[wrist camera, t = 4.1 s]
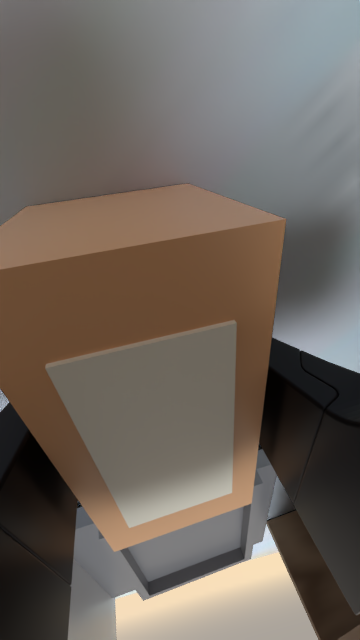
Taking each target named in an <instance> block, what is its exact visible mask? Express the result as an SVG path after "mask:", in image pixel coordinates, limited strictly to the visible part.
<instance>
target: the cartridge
mask: <svg viewBox="0 0 360 640" xmlns="http://www.w3.org/2000/svg"><path fill="white" fill-rule="evenodd" d="M285 225H286V219H285V218H282V217H279V216H276V215H274V214H271V213H268V212H265V211H263V210H260V209H257V208H254V207H252V206H249V205H246V204H243V203H241V202H238V201H235V200H232V199H230V198H227V197H224V196H221V195H219V194H216V193H213V192H210V191H208V190H205V189H202V188H199V187H197V186H194V185H191V184H188V183H186V184H180V185H173V186H166V187H159V188H152V189H145V190H138V191H131V192H124V193H117V194H110V195H103V196H96V197H89V198H82V199H75V200H68V201H61V202H54V203H47V204H40V205H33V206H27V207H25V208H24V209H22V210H21V211H20V212H18V213H17V214H16V215H14V216H13V217H12V218H10V219H9V220H8V221H7V222H5V223H4V224H3V225H1V226H0V389H1V390H2V392H3V393H4V394H5V396H6V397H7V399H8V400H9V402H10V403H11V404H12V406H13V407H14V409H15V410H16V412H17V413H18V415H19V416H20V417H21V419H22V420H23V422H24V423H25V425H26V426H27V427H28V429H29V430H30V432H31V433H32V435H33V436H34V438H35V439H36V440H37V442H38V443H39V445H40V446H41V448H42V449H43V450H44V452H45V453H46V455H47V456H48V458H49V459H50V460H51V462H52V463H53V465H54V466H55V468H56V469H57V471H58V472H59V473H60V475H61V476H62V478H63V479H64V481H65V482H66V483H67V485H68V486H69V488H70V489H71V491H72V492H73V494H74V495H75V496H76V498H77V499H78V501H79V502H80V504H81V505H82V506H83V508H84V509H85V511H86V512H87V514H88V515H89V517H90V518H91V519H92V521H93V522H94V524H95V525H96V527H97V528H98V529H99V531H100V532H101V534H102V535H103V537H104V538H105V539H106V541H107V542H108V544H109V545H110V547H111V548H112V550H113V551H114V552H116V551H119V550H122V549H124V548H127V547H130V546H133V545H136V544H139V543H141V542H144V541H147V540H150V539H153V538H155V537H158V536H161V535H164V534H167V533H170V532H172V531H175V530H178V529H181V528H184V527H187V526H189V525H192V524H195V523H198V522H201V521H203V520H206V519H209V518H212V517H215V516H218V515H220V514H223V513H226V512H229V511H232V510H235V509H237V508H240V507H243V506H246V505H249V504H252V496H253V488H254V480H255V472H256V463H257V455H258V447H259V439H260V431H261V422H262V414H263V406H264V398H265V389H266V381H267V373H268V365H269V356H270V348H271V340H272V332H273V324H274V315H275V307H276V299H277V291H278V282H279V274H280V266H281V258H282V250H283V241H284V233H285Z"/></svg>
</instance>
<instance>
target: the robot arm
mask: <svg viewBox="0 0 360 640" xmlns="http://www.w3.org/2000/svg"><path fill="white" fill-rule="evenodd" d="M259 444H260V445H261V447H262V449H263V451H264V453H265V454H266V456H267V458H268V460H269V462H270V463H271V465H272V467H273V469H274V471H275V472H276V474H277V476H278V478H279V480H280V481H281V483H282V485H283V487H284V488H285V490H286V492H287V494H288V496H289V497H290V499H291V501H292V503H293V504H294V507H295V509H296V510H297V512H298V514H299V516H300V517H301V519H302V521H303V523H304V525H305V526H306V528H307V530H308V532H309V534H310V535H311V537H312V539H313V541H314V543H315V544H316V546H317V548H318V550H319V552H320V553H321V555H322V557H323V559H324V561H325V562H326V564H327V566H328V568H329V570H330V571H331V573H332V575H333V577H334V578H335V580H336V582H337V584H338V586H339V587H340V589H341V591H342V593H343V595H344V596H345V598H346V600H347V602H348V604H349V605H350V607H351V609H352V610H353V612H354V614H355V615H358V614H360V373H357V372H354V371H351V370H349V369H346V368H343V367H341V366H338V365H335V364H333V363H330V362H328V361H325V360H323V359H320V358H318V357H316V356H313V355H311V354H309V353H306V352H304V351H300V350H299V349H297V348H295V347H292V346H290V345H288V344H286V343H283V342H281V341H279V340H277V339H274V338H272V340H271V348H270V356H269V365H268V373H267V381H266V389H265V398H264V406H263V414H262V422H261V431H260V439H259ZM77 502H78V499H77V498H76V496H75V495H74V494H73V492H72V491H71V489H70V488H69V486H68V485H67V483H66V482H65V481H64V479H63V478H62V476H61V475H60V473H59V472H58V471H57V469H56V468H55V466H54V465H53V463H52V462H51V460H50V459H49V458H48V456H47V455H46V453H45V452H44V450H43V449H42V448H41V446H40V445H39V443H38V442H37V440H36V439H35V438H34V436H33V435H32V433H31V432H30V430H29V429H28V427H27V426H26V425H25V423H24V422H23V420H22V419H21V417H20V416H19V415H18V413H17V412H16V410H15V409H14V407H13V406H12V404H11V403H10V402H9V403H8V404H7V406H6V407H5V408H4V409H3V410H2V411H1V412H0V640H68V629H69V615H70V601H71V586H70V585H71V583H72V571H73V557H74V543H75V530H76V516H77Z"/></svg>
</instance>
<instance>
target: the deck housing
mask: <svg viewBox="0 0 360 640" xmlns="http://www.w3.org/2000/svg"><path fill="white" fill-rule="evenodd" d="M266 524H267V526H268V528H269V531H270V533H271V535H272V537H273V540H274V542H275V544H276V546H277V548H278V551H279V553H280V555H281V557H282V560H283V562H284V564H285V566H286V568H287V571H288V573H289V575H290V577H291V579H292V582H293V584H294V586H295V588H296V591H297V593H298V595H299V597H300V600H301V602H302V604H303V606H304V608H305V611H306V613H307V615H308V617H309V620H310V622H311V624H312V626H313V628H314V631H315V633H316V635H317V637H318V640H360V614H358V615H355V614H354V612H353V610H352V609H351V607H350V605H349V604H348V602H347V600H346V598H345V596H344V595H343V593H342V591H341V589H340V587H339V586H338V584H337V582H336V580H335V578H334V577H333V575H332V573H331V571H330V570H329V568H328V566H327V564H326V562H325V561H324V559H323V557H322V555H321V553H320V552H319V550H318V548H317V546H316V544H315V543H314V541H313V539H312V537H311V535H310V534H309V532H308V530H307V528H306V526H305V525H304V523H303V521H302V519H301V517H300V516H299V514H298V512H297V510H295V511H293V512H290V513H287V514H285V515H282V516H279V517H276V518H274V519H271V520H268V521H267V523H266Z"/></svg>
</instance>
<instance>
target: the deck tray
mask: <svg viewBox="0 0 360 640" xmlns="http://www.w3.org/2000/svg"><path fill="white" fill-rule="evenodd" d="M276 475H277V474H276V472H275V471H274V469H273V467H272V465H271V463H270V462H269V460H268V458H267V456H266V454H265V453H264V451H263V449H261V450H258V455H257V463H256V472H255V480H254V488H253V496H252V504H249V505H246V506H243V507H240V508H237V509H235V510H232V511H229V512H226V513H223V514H220V515H218V516H215V517H212V518H209V519H206V520H203V521H201V522H198V523H195V524H192V525H189V526H187V527H184V528H181V529H178V530H175V531H172V532H170V533H167V534H164V535H161V536H158V537H155V538H153V539H150V540H147V541H144V542H141V543H139V544H136V545H133V546H130V547H127V548H124V549H122V550H119V551H116V552H114V551H113V550H112V548H111V547H110V545H109V544H108V542H107V541H106V539H105V538H104V537H103V535H102V534H101V532H100V531H99V529H98V528H97V527H96V525H95V524H94V522H93V521H92V519H91V518H90V517H89V515H88V514H87V512H86V511H85V509H84V508H83V507H80V508H77V516H76V530H75V543H74V557H73V571H72V583H71V585H70V586H71V601H70V615H69V629H68V640H116V615H115V597H117V596H119V595H122V594H125V593H127V592H130V591H133V590H136V591H137V593H138V594H139V595H140V597H141V598H142V599H143V601H144V600H146V599H149V598H151V597H154V596H156V595H159V594H162V593H164V592H167V591H169V590H172V589H174V588H177V587H179V586H182V585H185V584H187V583H190V582H192V581H195V580H198V579H200V578H203V577H205V576H208V575H210V574H213V573H215V572H218V571H221V570H223V569H226V568H228V567H231V566H233V565H236V564H239V563H241V562H244V561H246V560H249V559H251V555H252V549H253V545H254V544H256V543H259V542H261V541H263V536H264V531H265V526H266V522H267V517H268V512H269V508H270V503H271V498H272V494H273V489H274V484H275V479H276Z"/></svg>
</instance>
